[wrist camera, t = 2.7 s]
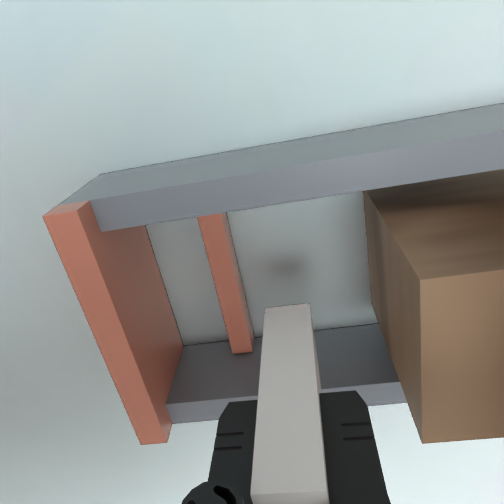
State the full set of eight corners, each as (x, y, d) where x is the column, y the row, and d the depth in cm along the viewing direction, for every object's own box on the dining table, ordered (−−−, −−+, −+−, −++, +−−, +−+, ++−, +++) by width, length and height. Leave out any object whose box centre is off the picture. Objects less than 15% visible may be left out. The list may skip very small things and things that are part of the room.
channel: (168, 365, 23) (140, 444, 18) (100, 173, 18) (42, 216, 14) (657, 312, 20) (770, 391, 15) (727, 63, 15) (920, 71, 10)
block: (371, 303, 20) (422, 443, 13) (362, 185, 18) (420, 280, 11) (502, 287, 20) (632, 427, 12) (512, 161, 17) (685, 246, 10)
